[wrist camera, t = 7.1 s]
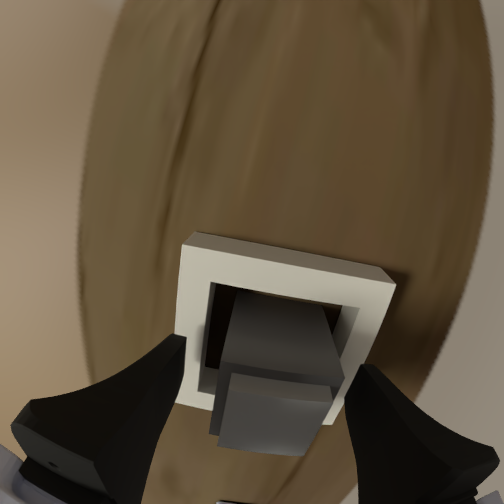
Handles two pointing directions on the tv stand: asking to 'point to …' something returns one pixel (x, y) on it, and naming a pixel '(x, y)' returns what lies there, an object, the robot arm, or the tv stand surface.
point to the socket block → (277, 282)
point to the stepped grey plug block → (275, 376)
